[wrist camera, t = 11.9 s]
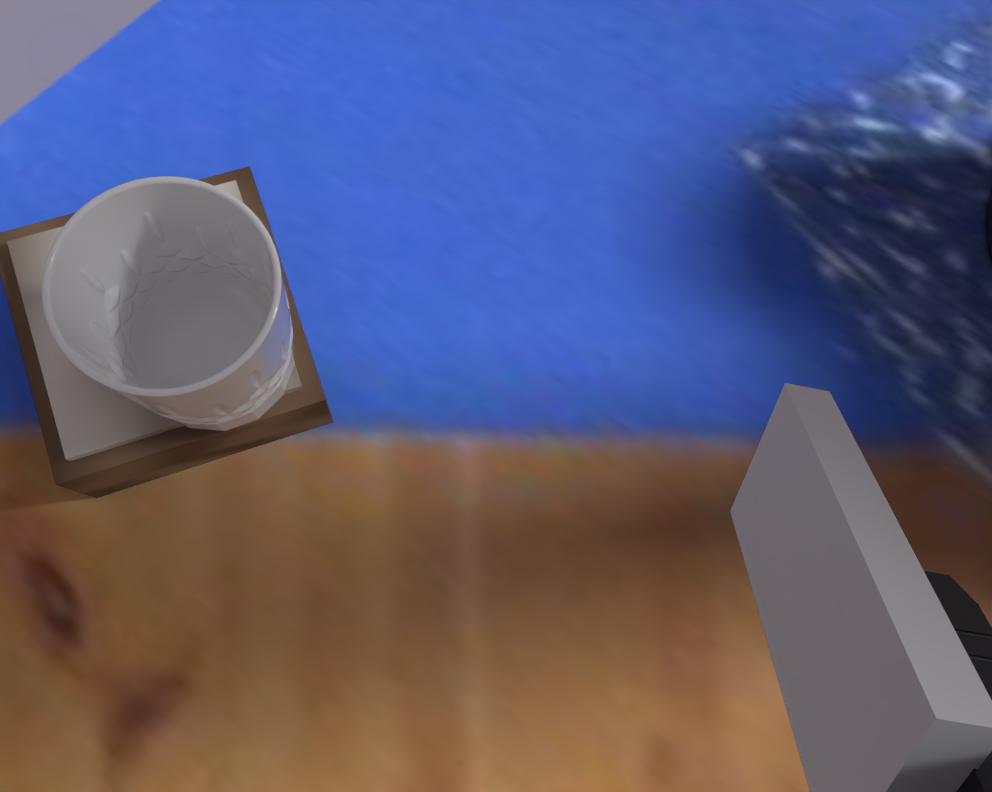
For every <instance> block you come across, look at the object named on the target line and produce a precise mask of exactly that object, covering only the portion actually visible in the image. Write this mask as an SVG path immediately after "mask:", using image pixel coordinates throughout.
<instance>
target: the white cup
mask: <svg viewBox="0 0 992 792" xmlns="http://www.w3.org/2000/svg"><path fill="white" fill-rule="evenodd" d="M42 303H43V309H44V314H45V318H46V321H47V324H48V327H49V329H50V332H51V334H52V336H53V338H54V340H55V341H56V343H57V345H58V346H59V348H60V349H61V350H62V352H63V353H64V354H65V356H66V357H67V358H68V359H69V360H70V361H71V362H72V363H73V364H74V365H75V366H76V367H77V368H78V369H80V370H81V371H82V372H83V373H85V374H86V375H87V376H89V377H90V378H92V379H94V380H95V381H97V382H99V383H101V384H103V385H105V386H106V387H108V388H110V389H112V390H114V391H115V392H117V393H119V394H121V395H123V396H124V397H126V398H128V399H130V400H132V401H133V402H135V403H137V404H139V405H141V406H142V407H144V408H146V409H148V410H150V411H152V412H154V413H157V414H159V415H161V416H163V417H166V418H168V419H172V420H175V421H178V422H180V423H182V424H183V425H185V426H187V427H188V428H195V429H206V430H217V431H227V430H230V429H233V428H235V427H238V426H241V425H244V424H247V423H250V422H252V421H255V420H258V419H259V418H260V417H261V416H262V415H264V414H265V413H266V412H267V411H268V410H269V409H270V408H271V407H272V406H273V405H274V404H275V403H276V402H277V401H278V400H279V399H280V398H281V397H282V396H283V395H284V392H285V390H286V387H287V384H288V382H289V379H290V376H291V374H292V371H293V368H294V365H295V359H294V350H293V327H292V321H291V315H290V307H289V301H288V297H287V293H286V288H285V284H284V280H283V276H282V271H281V267H280V262H279V257H278V254H277V251H276V248H275V245H274V243H273V241H272V238H271V236H270V235H269V233H268V231H267V229H266V228H265V226H264V225H263V223H262V222H261V221H260V219H259V218H258V217H257V216H256V215H255V214H254V212H253V211H252V210H251V209H250V208H248V207H247V206H246V205H245V204H244V203H243V202H241V201H240V200H239V199H237V198H236V197H234V196H233V195H231V194H230V193H228V192H226V191H224V190H222V189H220V188H218V187H216V186H214V185H211V184H208V183H206V182H202V181H199V180H195V179H190V178H184V177H173V176H160V177H149V178H143V179H138V180H133V181H130V182H126V183H123V184H121V185H118V186H115V187H113V188H111V189H109V190H107V191H105V192H103V193H101V194H99V195H98V196H96V197H95V198H93V199H92V200H90V201H89V202H88V203H86V204H85V205H84V206H83V207H81V208H80V209H79V210H78V211H77V212H76V213H75V214H74V215H73V216H72V217H71V218H70V219H69V220H68V222H67V223H66V224H65V225H64V227H63V228H62V229H61V231H60V232H59V234H58V236H57V237H56V239H55V241H54V243H53V245H52V247H51V249H50V251H49V254H48V257H47V260H46V263H45V267H44V272H43V278H42Z"/></svg>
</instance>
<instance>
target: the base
mask: <svg viewBox="0 0 992 792" xmlns="http://www.w3.org/2000/svg"><path fill="white" fill-rule="evenodd" d="M199 181H202V182H206V183H208V184H211V185H214V186H216V187H218V188H220V189H222V190H224V191H226V192H228V193H230V194H231V195H233V196H234V197H236V198H237V199H239V200H240V201H241V202H243V203H244V204H245V205H246V206H247V207H248V208H250V209H251V210H252V211H253V212H254V214H255V215H256V216H257V217H258V218H259V219H260V221H261V222H262V223H263V225H264V226H265V228H266V229H267V231H268V233H269V235H270V236H271V238H272V241H273V243H274V245H275V248H276V251H277V254H278V257H279V262H280V267H281V271H282V276H283V280H284V284H285V288H286V293H287V297H288V301H289V307H290V315H291V321H292V327H293V350H294V359H295V365H294V368H293V371H292V374H291V376H290V379H289V382H288V384H287V387H286V390H285V392H284V395H283V396H282V397H281V398H280V399H279V400H278V401H277V402H276V403H275V404H274V405H273V406H272V407H271V408H270V409H269V410H268V411H267V412H266V413H265V414H264V415H262V416H261V417H260V418H259V419H258V420H255V421H252V422H250V423H247V424H244V425H241V426H238V427H235V428H233V429H230V430H227V431H217V430H206V429H195V428H188V427H187V426H185V425H183V424H182V423H180V422H178V421H175V420H172V419H168V418H166V417H163V416H161V415H159V414H157V413H154V412H152V411H150V410H148V409H146V408H144V407H142V406H141V405H139V404H137V403H135V402H133V401H132V400H130V399H128V398H126V397H124V396H123V395H121V394H119V393H117V392H115V391H114V390H112V389H110V388H108V387H106V386H105V385H103V384H101V383H99V382H97V381H95V380H94V379H92V378H90V377H89V376H87V375H86V374H85V373H83V372H82V371H81V370H80V369H78V368H77V367H76V366H75V365H74V364H73V363H72V362H71V361H70V360H69V359H68V358H67V357H66V356H65V354H64V353H63V352H62V350H61V349H60V348H59V346H58V345H57V343H56V341H55V340H54V338H53V336H52V334H51V332H50V329H49V327H48V324H47V321H46V318H45V314H44V309H43V303H42V278H43V272H44V267H45V263H46V260H47V257H48V254H49V251H50V249H51V247H52V245H53V243H54V241H55V239H56V237H57V236H58V234H59V232H60V231H61V229H62V228H63V227H64V225H65V224H66V223H67V222H68V220H69V219H70V218H71V217H72V216H73V215H74V214H75V213H73V214H69V215H65V216H61V217H58V218H54V219H50V220H46V221H43V222H39V223H35V224H31V225H28V226H24V227H20V228H16V229H13V230H9V231H5V232H1V233H0V275H1V279H2V282H3V286H4V290H5V294H6V297H7V301H8V305H9V309H10V312H11V316H12V320H13V324H14V327H15V331H16V335H17V339H18V343H19V346H20V350H21V354H22V358H23V361H24V365H25V369H26V373H27V376H28V380H29V384H30V388H31V391H32V395H33V399H34V403H35V406H36V410H37V414H38V418H39V422H40V425H41V429H42V433H43V437H44V440H45V444H46V448H47V452H48V455H49V459H50V463H51V467H52V470H53V474H54V478H55V482H56V485H59V486H62V487H65V488H68V489H71V490H74V491H77V492H80V493H83V494H86V495H89V496H92V497H96V498H97V497H101V496H104V495H107V494H110V493H113V492H116V491H119V490H122V489H126V488H129V487H132V486H135V485H138V484H141V483H144V482H147V481H150V480H154V479H157V478H160V477H163V476H166V475H169V474H172V473H175V472H179V471H182V470H185V469H188V468H191V467H194V466H197V465H200V464H204V463H207V462H210V461H213V460H216V459H219V458H222V457H225V456H228V455H232V454H235V453H238V452H241V451H244V450H247V449H250V448H253V447H257V446H260V445H263V444H266V443H269V442H272V441H275V440H278V439H282V438H285V437H288V436H291V435H294V434H297V433H300V432H303V431H307V430H310V429H313V428H316V427H319V426H322V425H325V424H328V423H331V422H333V420H332V417H331V414H330V410H329V407H328V404H327V401H326V398H325V395H324V392H323V389H322V386H321V383H320V380H319V377H318V373H317V370H316V367H315V364H314V361H313V358H312V355H311V352H310V349H309V346H308V343H307V340H306V336H305V333H304V330H303V327H302V324H301V321H300V318H299V315H298V312H297V309H296V306H295V303H294V299H293V296H292V293H291V290H290V287H289V284H288V281H287V278H286V275H285V272H284V269H283V266H282V263H281V259H280V256H279V253H278V250H277V247H276V244H275V241H274V238H273V235H272V232H271V229H270V226H269V222H268V219H267V216H266V213H265V210H264V207H263V204H262V201H261V199H260V196H259V193H258V190H257V187H256V184H255V181H254V178H253V175H252V172H251V169H250V166H249V167H245V168H242V169H238V170H234V171H230V172H227V173H223V174H219V175H215V176H212V177H208V178H204V179H200V180H199Z"/></svg>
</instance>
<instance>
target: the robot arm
mask: <svg viewBox="0 0 992 792" xmlns="http://www.w3.org/2000/svg"><path fill="white" fill-rule="evenodd" d="M987 238H988V244H989V249H990V254H991V257H992V190H991V193H990V197H989V202H988V208H987ZM730 513H731V516H732V520H733V523H734V527H735V530H736V534H737V537H738V541H739V544H740V548H741V551H742V555H743V558H744V562H745V565H746V569H747V572H748V576H749V580H750V583H751V587H752V590H753V594H754V597H755V601H756V604H757V608H758V611H759V615H760V618H761V622H762V625H763V629H764V632H765V636H766V639H767V643H768V646H769V650H770V653H771V657H772V660H773V664H774V667H775V671H776V675H777V678H778V682H779V685H780V689H781V692H782V696H783V699H784V703H785V706H786V710H787V713H788V717H789V720H790V724H791V727H792V731H793V734H794V738H795V741H796V745H797V748H798V752H799V755H800V759H801V762H802V766H803V770H804V773H805V777H806V780H807V784H808V787H809V791H810V792H992V628H991V626H990V624H989V622H988V621H987V619H986V617H985V615H984V614H983V612H982V610H981V608H980V607H979V605H978V604H977V603H976V602H975V601H974V600H973V599H972V598H971V597H970V596H969V595H968V594H967V593H966V592H965V591H964V590H963V589H962V588H961V587H960V586H959V585H958V584H957V583H956V582H955V581H954V580H953V579H952V578H951V577H950V576H949V575H944V574H939V573H933V572H927V571H924V570H923V569H922V567H921V565H920V563H919V561H918V559H917V557H916V555H915V553H914V551H913V549H912V548H911V546H910V544H909V542H908V540H907V538H906V536H905V534H904V532H903V530H902V528H901V527H900V525H899V523H898V521H897V519H896V517H895V515H894V513H893V511H892V509H891V508H890V506H889V504H888V502H887V500H886V498H885V496H884V494H883V492H882V490H881V488H880V487H879V485H878V483H877V481H876V479H875V477H874V475H873V473H872V471H871V469H870V467H869V466H868V464H867V462H866V460H865V458H864V456H863V454H862V452H861V450H860V448H859V447H858V445H857V443H856V441H855V439H854V437H853V435H852V433H851V431H850V429H849V427H848V426H847V424H846V422H845V420H844V418H843V416H842V414H841V412H840V410H839V408H838V407H837V405H836V403H835V401H834V399H833V397H832V395H831V393H830V391H825V390H820V389H814V388H809V387H804V386H799V385H793V384H788V383H785V384H784V386H783V389H782V391H781V393H780V396H779V398H778V400H777V403H776V405H775V407H774V410H773V412H772V414H771V417H770V419H769V421H768V424H767V426H766V428H765V431H764V433H763V435H762V438H761V440H760V442H759V445H758V447H757V449H756V452H755V454H754V456H753V459H752V461H751V463H750V466H749V468H748V470H747V473H746V475H745V478H744V480H743V482H742V485H741V487H740V489H739V492H738V494H737V496H736V499H735V501H734V503H733V506H732V508H731V510H730Z"/></svg>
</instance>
